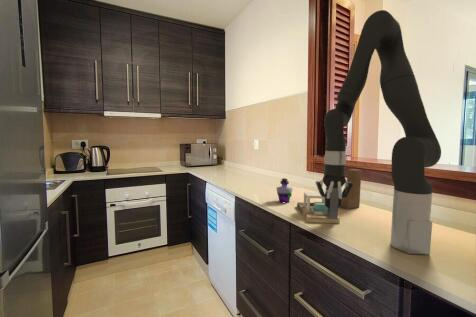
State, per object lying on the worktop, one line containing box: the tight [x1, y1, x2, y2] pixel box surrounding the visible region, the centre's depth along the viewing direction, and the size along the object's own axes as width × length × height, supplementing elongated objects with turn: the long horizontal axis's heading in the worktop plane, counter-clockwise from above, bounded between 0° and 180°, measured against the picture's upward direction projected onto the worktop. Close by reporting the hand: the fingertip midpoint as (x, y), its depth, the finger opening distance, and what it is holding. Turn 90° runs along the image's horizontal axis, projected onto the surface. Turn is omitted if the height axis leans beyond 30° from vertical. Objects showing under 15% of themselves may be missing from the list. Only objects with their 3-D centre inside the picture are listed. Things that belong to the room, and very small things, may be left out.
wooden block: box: [340, 168, 362, 210], centre depth 117 cm, size 9×4×18 cm, turn 118°
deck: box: [296, 201, 341, 224], centre depth 106 cm, size 22×12×2 cm, turn 177°
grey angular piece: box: [310, 188, 339, 219], centre depth 98 cm, size 11×8×12 cm
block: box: [313, 201, 326, 211], centre depth 101 cm, size 4×4×4 cm
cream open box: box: [303, 191, 327, 211], centre depth 107 cm, size 7×9×6 cm
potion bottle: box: [276, 178, 293, 204], centre depth 127 cm, size 9×9×12 cm
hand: (332, 207), depth 94 cm, fingers closed on grey angular piece, 3 cm apart
